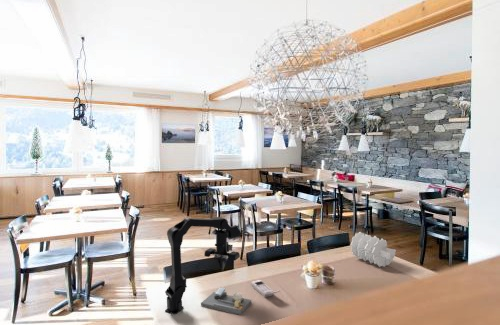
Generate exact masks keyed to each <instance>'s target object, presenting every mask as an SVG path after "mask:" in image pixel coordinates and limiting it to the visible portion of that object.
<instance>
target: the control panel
mask: <svg viewBox="0 0 500 325" xmlns="http://www.w3.org/2000/svg"><path fill="white" fill-rule="evenodd" d="M215 293H216V291H215V292H214V291H213V292H212V293H211V294H210V295H208V296H207V297H206V298H205V299H203V301H201V302H200V306H201V307H205V308H208V309H214V310H218V311H220V312H221V311H222V312H225V313H230V314H235V315H239V316H241V315H243V313H244V312H245V311H246V310H247V308H248V307H250V305H251V304H252V299H248V298H244V297H242V300H241V307H240V308H239V309H238V308H235V301H234V299H233V295H229V294H227V292H226V291H224V293H223V294H222V295H221V296H217V295H215Z"/></svg>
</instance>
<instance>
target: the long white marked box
mask: <svg viewBox="0 0 500 325" xmlns="http://www.w3.org/2000/svg"><path fill="white" fill-rule="evenodd" d="M250 282H251V284H250V285H251V287H252V288H253V289H254V290H256V291H257V292H258V293H259V294H260V295H261V296H262V297H263V298H267V297H271V296H273V294H276V293H280V292H281V289H280V290H279V289H278V290H275V291H274V290H273V289H272V288H270V287H269V286H268V285H267V284H266V283H264V282H263V280H261V279H258V280H252V281H250Z"/></svg>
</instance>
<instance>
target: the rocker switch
mask: <svg viewBox="0 0 500 325" xmlns="http://www.w3.org/2000/svg"><path fill="white" fill-rule="evenodd" d="M226 291H227V290H226V288H225V287H221V286H220V287H219V288H218V289H217V290H216V291H215V295H217V296H221V295H222V294H223V293H224V292H226Z"/></svg>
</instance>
